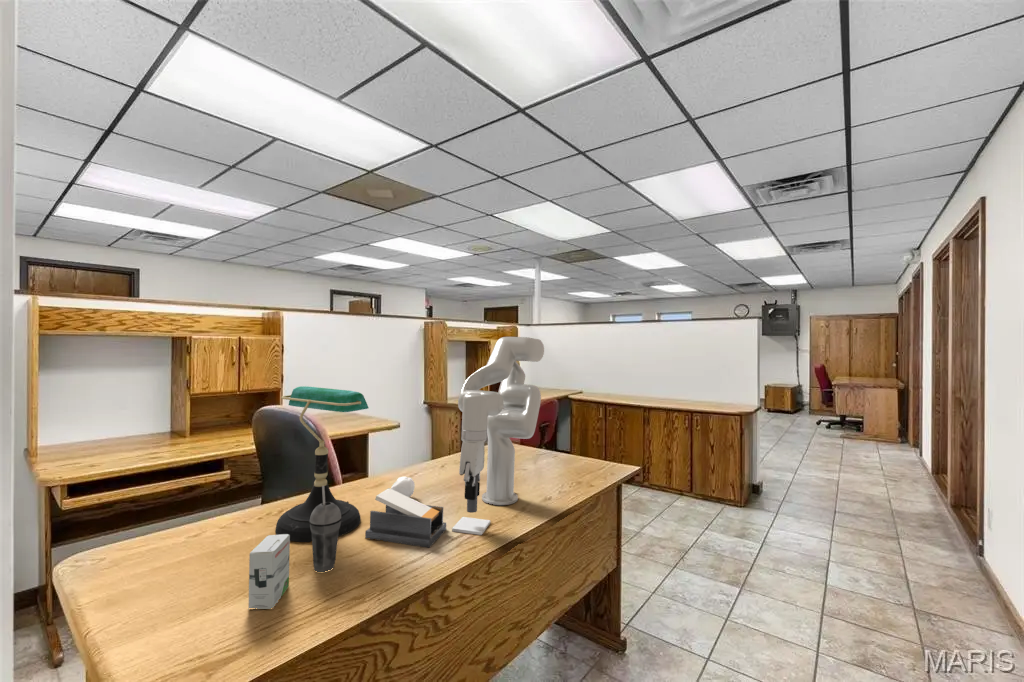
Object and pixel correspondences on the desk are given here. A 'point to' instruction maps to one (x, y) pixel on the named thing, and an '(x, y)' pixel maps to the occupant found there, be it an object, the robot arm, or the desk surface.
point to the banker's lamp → (320, 463)
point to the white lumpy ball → (404, 486)
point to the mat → (471, 525)
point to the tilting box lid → (406, 504)
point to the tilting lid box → (405, 527)
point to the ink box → (269, 571)
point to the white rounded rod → (473, 503)
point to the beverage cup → (325, 534)
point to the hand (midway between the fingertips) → (472, 496)
